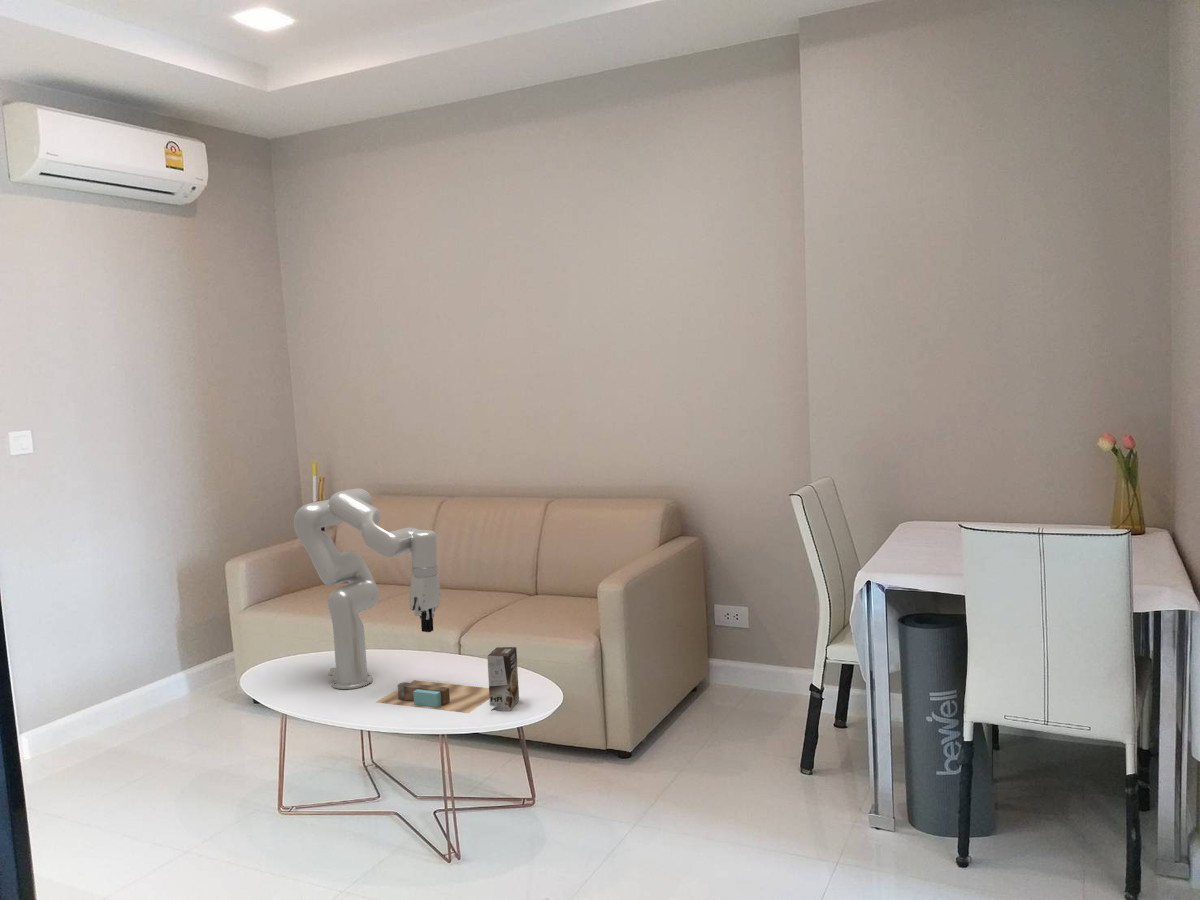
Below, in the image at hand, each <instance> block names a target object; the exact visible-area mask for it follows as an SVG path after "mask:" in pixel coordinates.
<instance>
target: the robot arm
mask: <svg viewBox="0 0 1200 900" xmlns="http://www.w3.org/2000/svg"><path fill="white" fill-rule="evenodd" d="M380 519H381V512H380V511H379V509H378V508H377V507H375V506H373V498H372V496H371V494H370V493H369V492H368V491H367V490H365V489H363V488H360V487H359V488H358V487H357V488H351V489H346V490H345V489H344V490H341V491H337V492H335V493H334V494H332V495H331V496H330V498H329V499H324V500H319V501H314V502H309V503H307V504H304V505H302V506H301V507H300V508H298V510H297V511H296V513H295V515H294V518H293V527H294V528H293V529H294V531H295V534H296V536H297V538H298V540H299V541H300V543H301V545H302V546H303V547H304V548H305V550H306V552H307V554H308V557H309V558H310V561H311V563H312V565H313V566H314V568H315V571H316V573H317V575H318V576H319V578H320V580H321V582H322V583H323V584H324V585H326V586H331V587H332V586H336V585H339V584H343V583H348V584H345V585H341V586H339V587H337V588H334V590H333V591H331V592H330V594H329V596H328V598H327V606H328V610H329V614H330V617H331V624H332V631H333V633H332V634H333V635H332V636H333V645H334V660H335V661H334V662H335V667H331V668H330V669H329V671H328V672H327V676H330V677H333V679H332V681H331V686H332V687H333V688H334V689H336V690H337V689H338V690H353V689H359V688H363V687H366V686H368V685H370V684H371V683H372V682H373V675H371V674H369V673H368V665H367V663H368V662H367V651H366V636H365V635H366V634H365V627H364V623H363V621H362V619H361V618H360V616H359V613H360V612H361V613H362V612H363V611H366V610H369V609H372V608H374V607H375V606H376V605H377V604H378V602H379V601H380V591H379V587H378V586H377V583H376V581H375V579H374V577H373V575H372V573H371V570H370V569H369V566H368V565H367V563H366V561H365V559H364V558H363V557H362V555H360V553H358V552H356V551H353V550H348V551H343V552H339V550H338V548H337V547H336V545H335V543H334V541H333V540H332V538H331V537H330V536H329V535H328V534H327V533H325V532H324V531H323V530H322V528H327V527H331V526H336V525H339V524H342V523H347V524H348V525H350V526H351V527H353V528H355V529H356V530H358V531H359V532H360V533H361V537H362V539H363V541H364V542H365V544H366V546H368V547H369V548H370V549H371V550H373V551H375V552H377V554H378V553H379V554H380V555H382V556H384V557H388V558H395V557H398V556H401V555H403V554H408V553H411V571H412V578H411V580H410V586H409V609H410V611H414V616H415V617H419V619H420V623H421V624H420V625H421V626H420V627H421V632H422V633H431V632H434V616H435V612H436V610H437V609H438V608H439V605H441V596H442V595H441V586H440V584H441V583H440V579H439V572H438V571H439V569H438V568H439V567H438V547H437V546H438V545H437V534H436V532H435V531H434V530H430V529H419V528H415V527H404V528H401V529H396V530H392V531H387V530H385V529H384V528H382V527H381V526H379V525H378V524H379V522H380ZM369 683H370V684H369ZM367 684H368V685H367ZM365 685H366V686H365ZM362 686H363V687H362Z"/></svg>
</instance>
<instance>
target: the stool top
mask: <svg viewBox="0 0 1200 900" xmlns="http://www.w3.org/2000/svg"><path fill="white" fill-rule="evenodd" d="M409 683H413V684H422V685H430V686H439V687H448V688H449V694H450V701H449V702H448V703H446V704H444V705H443V704H441V706H439V707H438V708H436V707H427V706H419V705H414V701H411V700H400V699H398V689H396V690H394V691H392V692H391V693H389V694H387V695H385V696H383V697H381V698H380V699H378V700H376V701H375V703H378V704H386V705H387V704H388V705H394V706H395V705H396V706H405V707H413V708H420V709H421V708H422V709H429V710H437V711H447V712H456V713H461V714H462V713H464V714H469V713H471V712H472V711H474V710H475V709H477V708H479V707H480V706H481V705H483V704H484V703H486V702H487V701H488V700H489V701H490V697H489V687H482V686H473V685H463V684H454V683H453V684H452V683H444V682H435V681H434V682H433V681H425V680H412V681H411V682H409Z"/></svg>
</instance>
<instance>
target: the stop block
mask: <svg viewBox="0 0 1200 900" xmlns="http://www.w3.org/2000/svg"><path fill="white" fill-rule="evenodd" d="M413 695H414V705H419V706H427V707H436V708H438V707H439V706H441V692H438V691H429V690H420V689H417V690H415V691H413Z"/></svg>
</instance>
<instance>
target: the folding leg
mask: <svg viewBox="0 0 1200 900" xmlns="http://www.w3.org/2000/svg"><path fill="white" fill-rule="evenodd" d="M417 689H420V690H429V691H438V692H441V704H443V705H444V704H446V703H448V702H449V701H450V694H449V688H448V687H439V686H430V685H422V684H413V683H410V682H407V681H406V682H405V681H404V682H401V683H398V684H397V690H398V699H400V700H411V701H414V695H413V691H415V690H417Z"/></svg>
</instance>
